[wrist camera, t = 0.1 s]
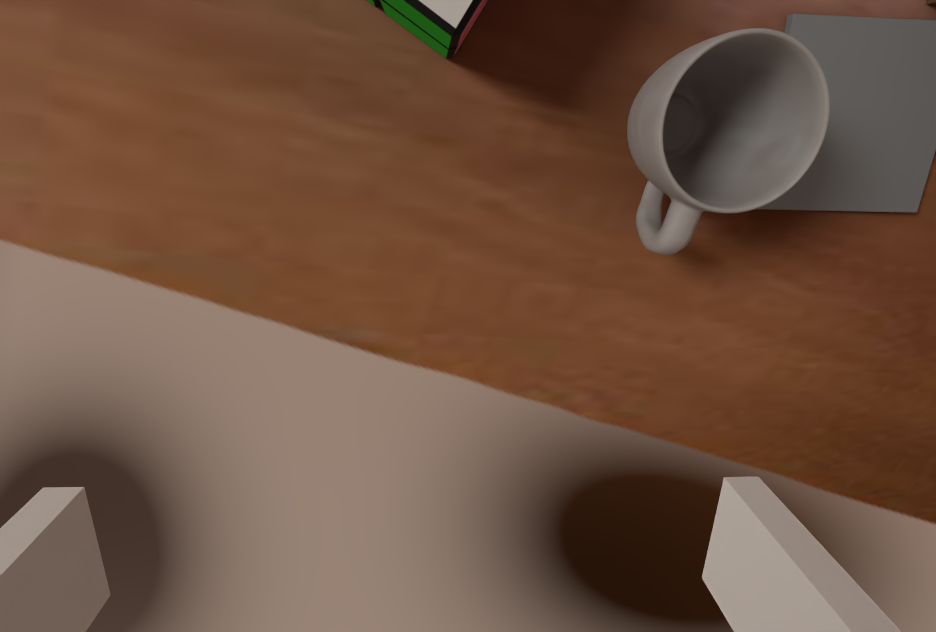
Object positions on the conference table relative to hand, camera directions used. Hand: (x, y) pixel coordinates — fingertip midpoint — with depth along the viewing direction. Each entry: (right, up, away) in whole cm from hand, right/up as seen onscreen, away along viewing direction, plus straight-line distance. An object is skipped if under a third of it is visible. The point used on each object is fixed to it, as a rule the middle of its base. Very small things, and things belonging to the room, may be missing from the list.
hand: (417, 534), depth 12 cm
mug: (+14, +16, +25) cm, 33 cm away
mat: (+27, +18, +25) cm, 41 cm away
